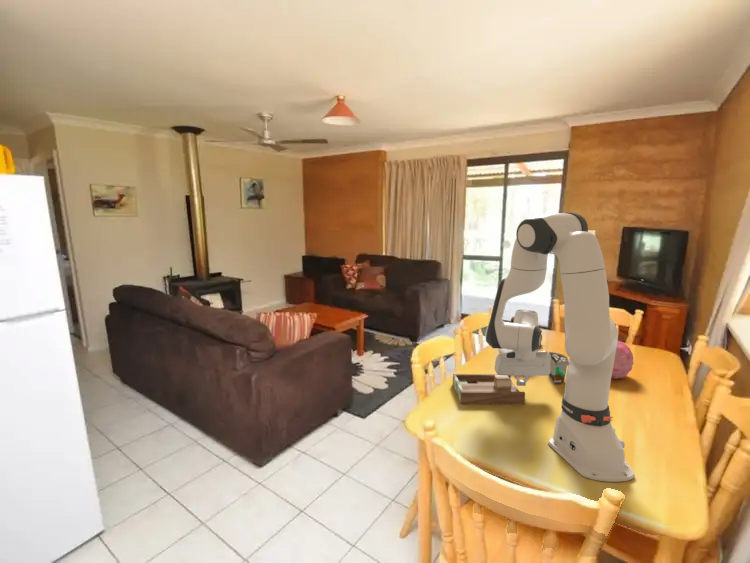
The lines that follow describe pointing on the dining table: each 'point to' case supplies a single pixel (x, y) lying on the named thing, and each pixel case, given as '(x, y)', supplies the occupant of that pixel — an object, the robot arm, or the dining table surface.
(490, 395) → the box
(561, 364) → the food container
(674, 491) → the dining table surface
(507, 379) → the beech block
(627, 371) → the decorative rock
